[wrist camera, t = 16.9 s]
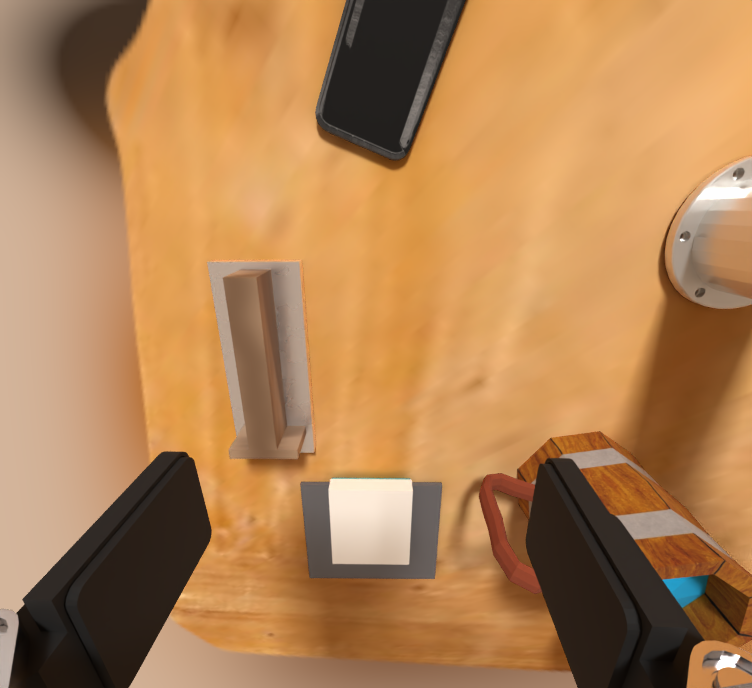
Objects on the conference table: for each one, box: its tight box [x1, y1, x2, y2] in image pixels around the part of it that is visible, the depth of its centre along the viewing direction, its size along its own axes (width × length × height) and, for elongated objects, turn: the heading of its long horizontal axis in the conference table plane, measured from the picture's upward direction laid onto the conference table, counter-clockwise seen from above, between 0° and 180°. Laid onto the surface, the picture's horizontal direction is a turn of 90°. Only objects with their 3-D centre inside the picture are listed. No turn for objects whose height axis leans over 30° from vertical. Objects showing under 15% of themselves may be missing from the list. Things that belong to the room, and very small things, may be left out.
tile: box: [328, 478, 413, 565], centre depth 41 cm, size 9×2×11 cm
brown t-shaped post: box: [223, 269, 306, 459], centre depth 33 cm, size 6×17×4 cm, turn 0°
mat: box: [301, 482, 442, 579], centre depth 44 cm, size 16×15×1 cm
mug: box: [479, 431, 752, 647], centre depth 34 cm, size 20×14×15 cm
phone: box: [315, 0, 466, 160], centre depth 26 cm, size 8×1×15 cm
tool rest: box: [207, 260, 316, 453], centre depth 35 cm, size 8×20×1 cm, turn 0°
